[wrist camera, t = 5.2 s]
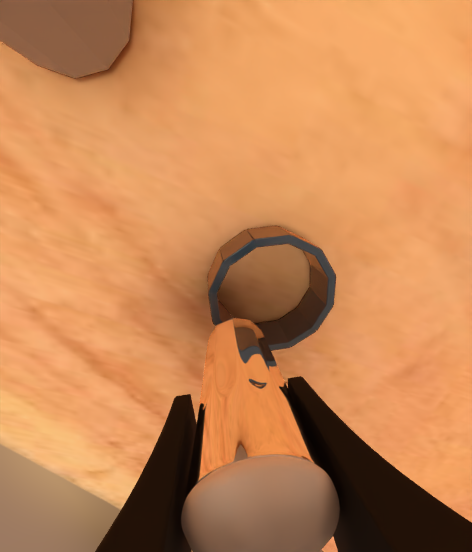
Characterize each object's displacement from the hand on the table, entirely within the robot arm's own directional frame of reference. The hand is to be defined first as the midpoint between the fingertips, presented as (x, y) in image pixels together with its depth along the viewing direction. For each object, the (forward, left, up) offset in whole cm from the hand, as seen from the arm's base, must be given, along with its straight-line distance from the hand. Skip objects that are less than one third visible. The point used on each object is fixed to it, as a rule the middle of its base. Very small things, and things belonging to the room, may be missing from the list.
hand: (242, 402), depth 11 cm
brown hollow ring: (+1, -4, -10) cm, 11 cm away
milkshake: (0, 0, -4) cm, 4 cm away
